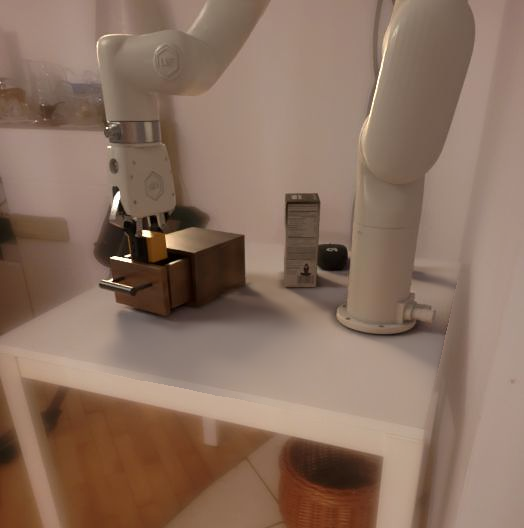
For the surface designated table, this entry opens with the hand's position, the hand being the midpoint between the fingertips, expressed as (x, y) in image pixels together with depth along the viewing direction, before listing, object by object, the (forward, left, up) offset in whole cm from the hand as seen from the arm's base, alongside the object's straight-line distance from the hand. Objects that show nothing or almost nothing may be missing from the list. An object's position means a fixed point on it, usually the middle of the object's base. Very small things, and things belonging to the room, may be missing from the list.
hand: (148, 256), depth 80 cm
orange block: (0, 0, 0) cm, 0 cm away
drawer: (0, -1, -8) cm, 8 cm away
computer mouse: (-14, -40, -9) cm, 44 cm away
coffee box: (-14, -26, -9) cm, 31 cm away
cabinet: (0, -11, -9) cm, 15 cm away
